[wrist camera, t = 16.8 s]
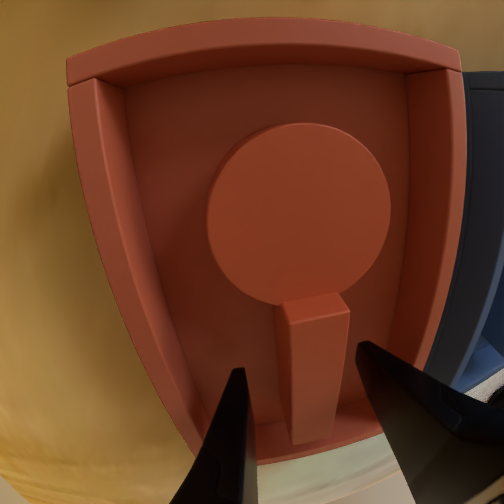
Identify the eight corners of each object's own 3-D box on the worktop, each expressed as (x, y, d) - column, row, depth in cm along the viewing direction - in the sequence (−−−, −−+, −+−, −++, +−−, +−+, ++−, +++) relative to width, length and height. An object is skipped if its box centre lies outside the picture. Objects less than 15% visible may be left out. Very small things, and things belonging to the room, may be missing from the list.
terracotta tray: (378, 393, 13) (397, 427, 11) (202, 430, 13) (204, 471, 10) (408, 59, 7) (459, 49, 5) (103, 75, 6) (64, 58, 4)
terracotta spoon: (346, 385, 12) (366, 426, 9) (245, 407, 11) (253, 453, 9) (362, 121, 7) (413, 123, 5) (195, 134, 7) (186, 135, 5)
